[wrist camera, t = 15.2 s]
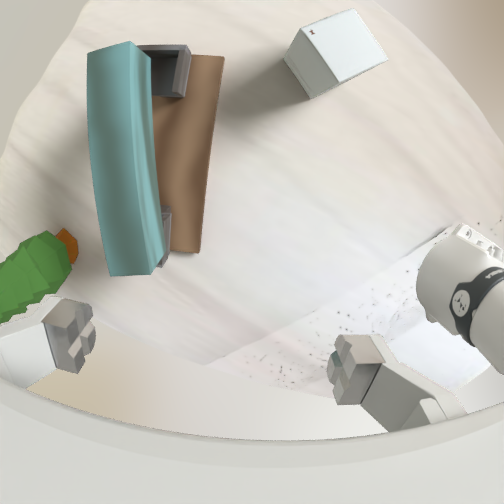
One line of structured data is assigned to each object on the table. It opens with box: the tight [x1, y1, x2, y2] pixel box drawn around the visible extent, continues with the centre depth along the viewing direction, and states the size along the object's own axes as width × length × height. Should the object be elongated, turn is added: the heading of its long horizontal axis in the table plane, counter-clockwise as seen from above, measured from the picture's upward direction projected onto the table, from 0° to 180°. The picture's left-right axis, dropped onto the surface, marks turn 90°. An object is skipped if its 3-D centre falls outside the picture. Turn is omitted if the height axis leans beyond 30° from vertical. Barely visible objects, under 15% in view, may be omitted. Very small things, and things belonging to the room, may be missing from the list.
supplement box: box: [283, 8, 388, 99], centre depth 29 cm, size 7×7×13 cm
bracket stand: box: [137, 45, 225, 268], centre depth 33 cm, size 12×28×13 cm, turn 172°
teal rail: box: [87, 41, 166, 276], centre depth 24 cm, size 4×20×6 cm, turn 3°
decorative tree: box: [0, 228, 78, 324], centre depth 29 cm, size 10×9×30 cm
